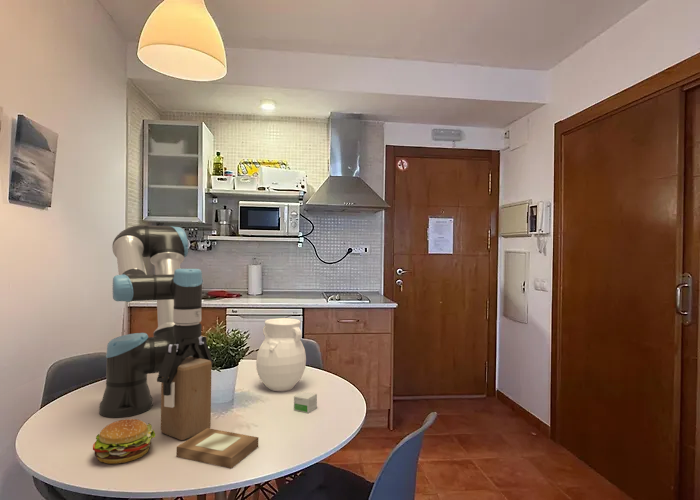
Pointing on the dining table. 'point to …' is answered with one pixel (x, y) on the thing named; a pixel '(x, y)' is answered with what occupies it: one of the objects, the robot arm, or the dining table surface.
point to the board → (217, 447)
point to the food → (123, 441)
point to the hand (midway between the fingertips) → (186, 398)
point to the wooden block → (189, 400)
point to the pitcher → (281, 354)
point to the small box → (305, 402)
